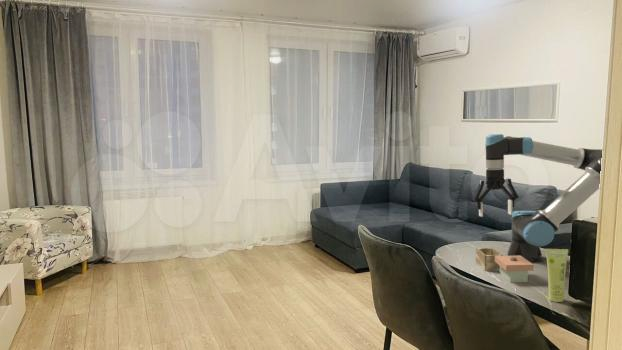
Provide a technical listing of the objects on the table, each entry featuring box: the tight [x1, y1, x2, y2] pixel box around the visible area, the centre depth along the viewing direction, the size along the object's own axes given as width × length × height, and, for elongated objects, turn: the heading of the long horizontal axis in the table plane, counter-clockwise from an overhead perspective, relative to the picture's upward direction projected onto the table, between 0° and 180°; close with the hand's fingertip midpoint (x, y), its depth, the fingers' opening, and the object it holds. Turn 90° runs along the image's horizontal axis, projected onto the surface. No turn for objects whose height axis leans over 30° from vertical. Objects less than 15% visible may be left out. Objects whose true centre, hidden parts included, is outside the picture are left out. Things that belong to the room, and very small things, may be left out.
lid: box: [495, 255, 534, 272], centre depth 193 cm, size 11×13×4 cm
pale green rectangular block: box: [499, 266, 529, 283], centre depth 194 cm, size 7×12×5 cm, turn 178°
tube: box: [544, 248, 569, 303], centre depth 167 cm, size 6×5×20 cm
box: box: [475, 247, 504, 272], centre depth 209 cm, size 8×12×7 cm, turn 178°
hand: (495, 215), depth 206 cm, fingers open, 13 cm apart
